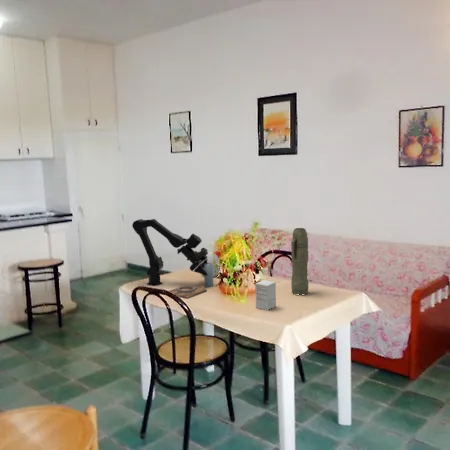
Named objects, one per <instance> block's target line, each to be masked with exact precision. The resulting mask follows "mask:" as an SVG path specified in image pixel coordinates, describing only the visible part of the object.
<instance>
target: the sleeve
mask: <svg viewBox="0 0 450 450" xmlns="http://www.w3.org/2000/svg"><path fill="white" fill-rule="evenodd" d="M204 270H205V271H206V273H207V274H208V275H207V276H205V275H203V278H204V287H205V288H213V287H214V277H213V263H205V264H204Z"/></svg>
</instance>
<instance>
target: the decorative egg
mask: <svg viewBox="0 0 450 450" xmlns="http://www.w3.org/2000/svg"><path fill="white" fill-rule="evenodd" d="M207 252H208V254H207V255H206V256H207V258H208V259H207V258H206V259H207V263H213V278H215V277H217V275H218V276H219V274H218V272H219V271H220V272H221V270H220V268H218V267H216V266H215V265H214V264H216V263H217V262H218V259H219V260H220V258H219V256H218V255H217V254H216V253H215V252H214V251H207ZM203 269H204V268H203Z"/></svg>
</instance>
